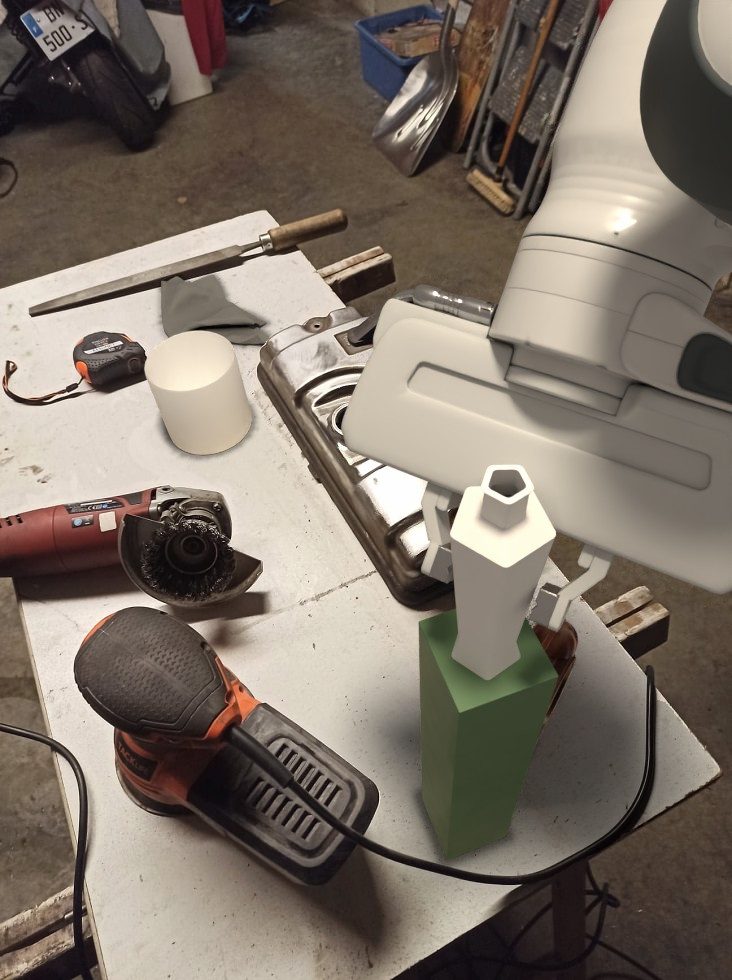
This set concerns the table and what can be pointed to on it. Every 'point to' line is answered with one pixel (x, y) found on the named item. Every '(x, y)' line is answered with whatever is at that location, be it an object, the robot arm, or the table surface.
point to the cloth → (206, 311)
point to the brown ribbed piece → (558, 657)
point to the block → (477, 734)
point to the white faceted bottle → (496, 567)
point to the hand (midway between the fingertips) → (490, 600)
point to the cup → (199, 391)
